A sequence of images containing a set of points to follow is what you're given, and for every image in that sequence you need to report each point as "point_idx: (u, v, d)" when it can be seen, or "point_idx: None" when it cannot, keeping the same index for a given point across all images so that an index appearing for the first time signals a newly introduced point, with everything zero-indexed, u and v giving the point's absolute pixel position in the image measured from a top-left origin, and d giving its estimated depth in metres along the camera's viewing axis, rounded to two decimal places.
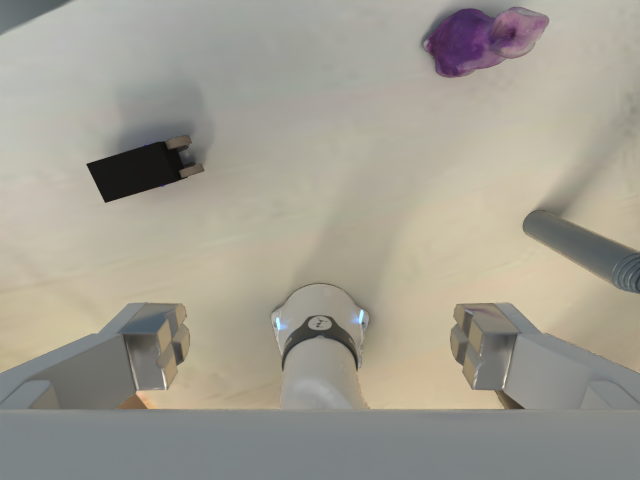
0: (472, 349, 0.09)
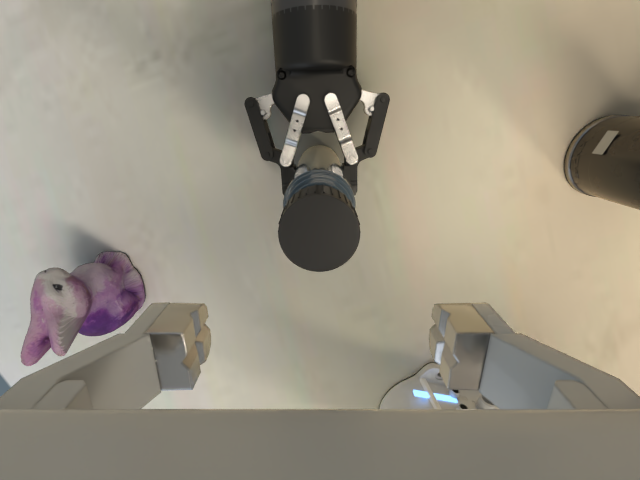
0: (448, 349, 0.09)
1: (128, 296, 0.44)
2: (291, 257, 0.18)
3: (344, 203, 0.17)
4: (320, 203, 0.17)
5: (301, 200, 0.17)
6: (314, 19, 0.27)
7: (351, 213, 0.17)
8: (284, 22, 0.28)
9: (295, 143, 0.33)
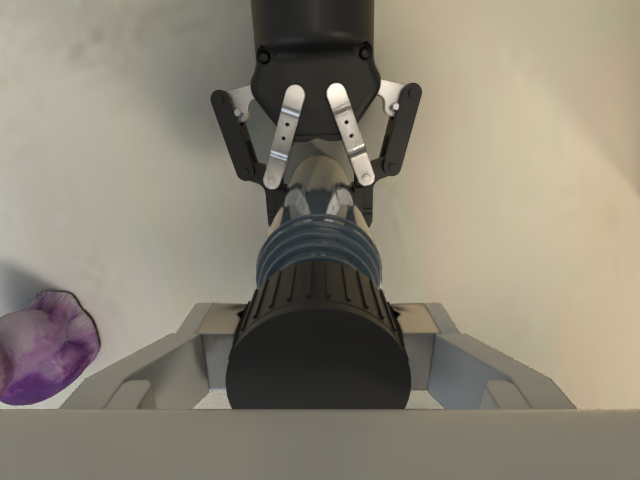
0: None
1: (72, 351, 0.34)
2: None
3: (377, 325, 0.07)
4: (321, 326, 0.07)
5: (275, 320, 0.07)
6: None
7: (393, 346, 0.07)
8: None
9: (285, 156, 0.23)
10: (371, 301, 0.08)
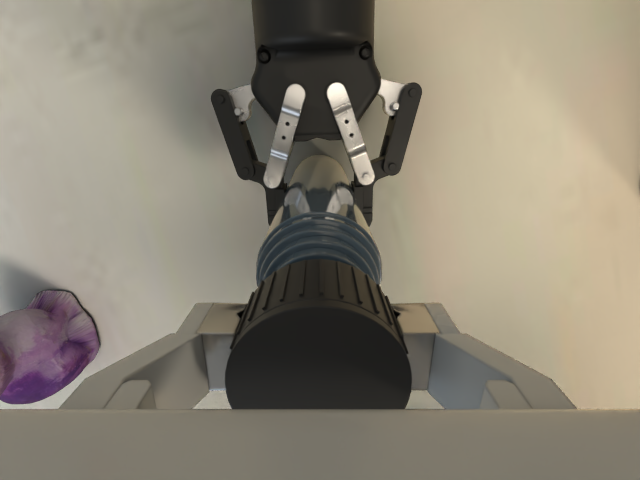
0: None
1: (72, 350, 0.34)
2: None
3: (242, 338, 0.07)
4: (244, 384, 0.08)
5: None
6: None
7: (265, 325, 0.07)
8: None
9: (285, 155, 0.23)
10: (249, 314, 0.08)
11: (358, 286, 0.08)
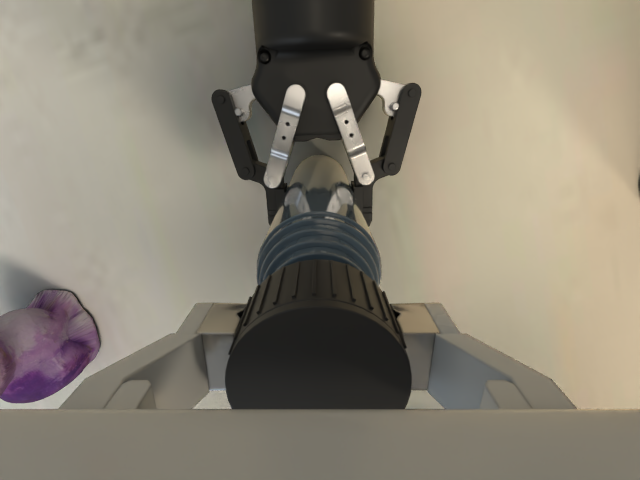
0: None
1: (73, 349, 0.34)
2: (389, 343, 0.07)
3: None
4: None
5: None
6: None
7: None
8: None
9: (285, 155, 0.23)
10: None
11: (241, 320, 0.09)
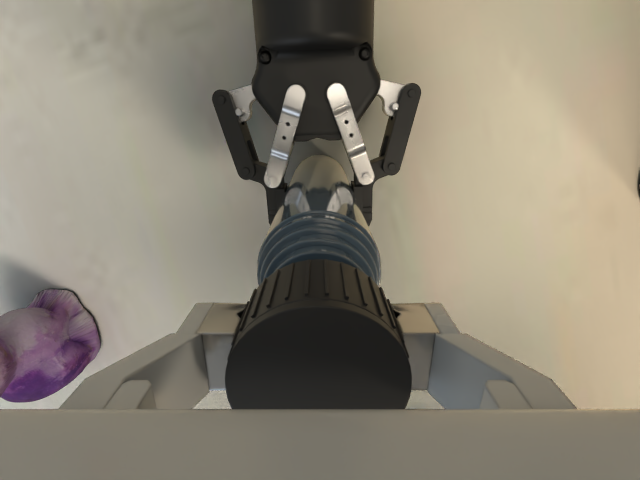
0: None
1: (73, 348, 0.34)
2: (263, 329, 0.07)
3: None
4: (390, 394, 0.08)
5: (404, 360, 0.08)
6: None
7: None
8: None
9: (285, 155, 0.23)
10: None
11: None
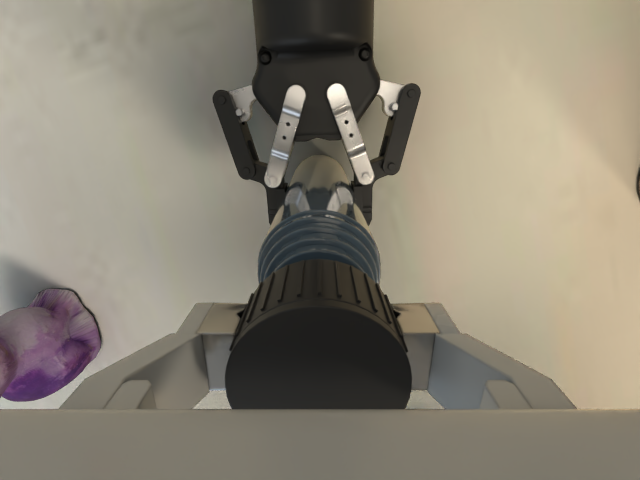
0: None
1: (74, 348, 0.34)
2: None
3: (386, 330, 0.07)
4: (329, 325, 0.07)
5: (285, 315, 0.07)
6: None
7: (399, 352, 0.07)
8: None
9: (285, 155, 0.23)
10: (379, 305, 0.08)
11: None
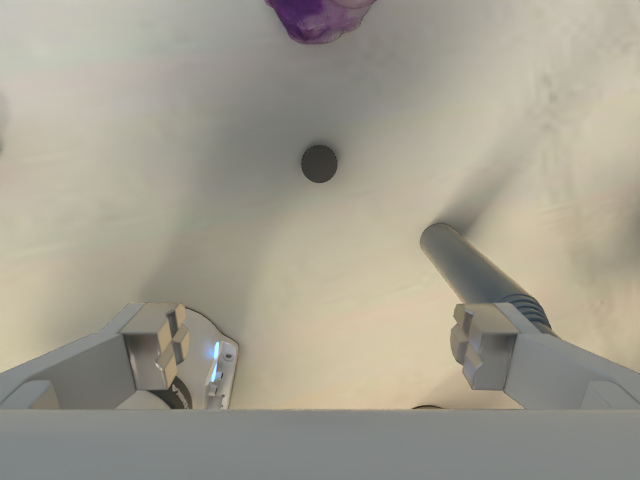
0: (472, 349, 0.09)
1: (319, 34, 0.35)
2: (328, 179, 0.42)
3: (306, 152, 0.41)
4: (305, 162, 0.41)
5: (303, 170, 0.41)
6: None
7: (311, 150, 0.41)
8: None
9: None
10: (306, 151, 0.42)
11: None
